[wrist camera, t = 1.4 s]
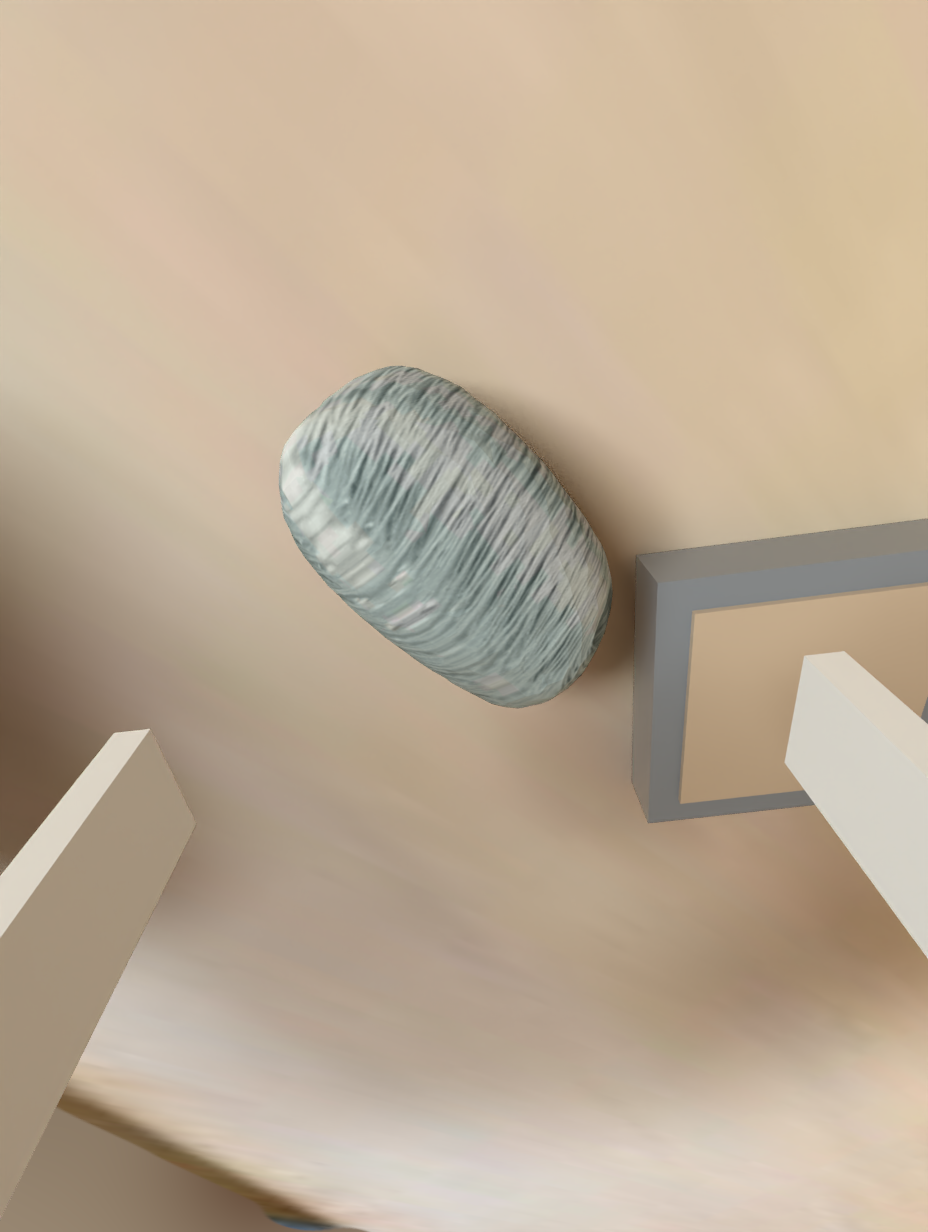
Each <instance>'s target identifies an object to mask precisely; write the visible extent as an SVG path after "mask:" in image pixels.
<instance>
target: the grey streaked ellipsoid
mask: <svg viewBox="0 0 928 1232" xmlns="http://www.w3.org/2000/svg"><path fill="white" fill-rule="evenodd" d="M279 489H280V497H281V504H282V510H283V515H284V519H285V521H286V523H287V525H288V527H289V529H290V531H291V533H292V536H293V538H294V540H295V542H296V545H297V546H298V548H299V549H300V551H301V552H302V554H303V555H304V557H305V558H306V559H307V561H308V562H309V563H310V564H311V565H312V567H313V568H314V569H315V570H316V572H317V573H318V574H319V575H320V576H321V578H322V579H323V580H324V581H325V582H326V584H327V585H328V586H329V587H330V588H331V589H332V590H333V591H334V592H336V593H337V594H338V595H339V596H340V597H341V598H342V599H343V600H344V601H345V602H346V604H347V605H348V606H350V607H351V608H352V609H353V610H354V611H355V612H356V613H357V614H358V615H360V616H361V617H362V618H363V619H364V620H365V621H367V622H368V623H369V624H370V625H372V626H373V627H374V628H375V629H376V630H377V631H379V632H380V633H381V634H382V635H383V636H384V637H386V638H387V639H388V640H390V641H391V642H392V643H394V644H395V645H397V646H398V647H399V648H401V649H402V650H404V651H405V652H406V653H408V654H409V655H410V656H412V657H413V658H414V659H416V660H417V661H419V662H420V663H421V664H423V665H424V666H426V667H428V668H429V669H431V670H432V671H434V672H436V673H438V674H439V675H441V676H443V677H445V678H446V679H448V680H449V681H450V682H451V683H453V684H455V685H457V686H459V687H461V688H462V689H464V690H466V691H468V692H470V693H472V694H474V695H476V696H478V697H480V698H482V699H484V700H485V701H487V702H489V703H491V704H495V705H499V706H503V707H510V708H523V707H528V706H532V705H537V704H541V703H544V702H546V701H549V700H551V699H552V698H554V697H555V696H557V695H558V694H560V693H561V692H563V691H564V690H566V689H567V688H568V687H569V686H570V685H571V684H572V683H573V682H574V681H575V680H576V679H577V678H578V677H579V676H581V674H582V673H583V672H584V670H585V669H586V667H587V666H588V664H589V662H590V660H591V659H592V657H593V655H594V653H595V652H596V650H597V648H598V646H599V644H600V641H601V639H602V637H603V635H604V633H605V629H606V625H607V621H608V617H609V613H610V609H611V601H612V580H611V574H610V570H609V566H608V562H607V558H606V554H605V552H604V549H603V547H602V545H601V542H600V541H599V539H598V538H597V536H596V535H595V533H594V532H593V530H592V528H591V527H590V525H589V523H588V521H587V520H586V518H585V517H584V515H583V514H582V512H581V511H580V510H579V508H578V507H577V506H576V504H575V503H574V501H573V500H572V499H571V498H570V496H569V495H568V494H567V493H566V491H565V490H564V489H563V487H562V486H561V485H560V483H559V482H558V480H557V479H556V478H555V476H554V475H553V473H552V472H551V471H550V470H549V468H548V467H547V466H546V465H545V464H544V462H543V461H542V460H541V459H540V458H539V457H538V456H537V455H536V454H535V453H534V452H533V451H532V450H531V449H530V448H529V447H528V446H527V445H526V444H525V443H524V442H523V441H522V440H521V439H520V438H519V437H518V436H517V435H516V434H515V433H514V432H513V431H512V430H511V429H510V428H509V427H507V426H506V425H505V424H504V423H503V422H502V421H501V420H500V418H499V417H498V416H497V415H496V414H495V413H494V412H492V411H491V410H490V409H488V408H487V407H486V406H484V405H483V404H481V403H480V402H479V401H477V400H476V399H475V398H473V397H472V396H471V395H470V394H469V393H468V392H466V391H465V390H464V389H463V388H462V387H460V386H458V385H456V384H454V383H452V382H450V381H448V380H446V379H443V378H441V377H438V376H435V375H433V374H430V373H428V372H425V371H423V370H420V369H418V368H412V367H405V366H389V367H386V368H382V369H378V370H375V371H373V372H370V373H367V374H365V375H362V376H360V377H358V378H355V379H353V380H352V381H350V382H349V383H347V384H346V385H345V386H343V387H342V388H341V389H340V390H338V391H337V392H335V393H334V394H333V395H331V396H330V397H328V398H327V399H326V400H325V401H324V402H323V403H322V404H321V406H320V407H319V408H318V409H316V410H315V411H314V412H312V413H311V414H310V415H309V416H308V417H307V418H306V419H305V420H304V421H303V422H302V423H301V424H300V425H299V426H298V428H297V429H296V430H295V431H294V432H293V434H292V435H291V437H290V438H289V439H288V441H287V442H286V444H285V445H284V449H283V452H282V455H281V460H280V471H279Z"/></svg>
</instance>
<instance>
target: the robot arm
mask: <svg viewBox="0 0 928 1232" xmlns="http://www.w3.org/2000/svg"><path fill="white" fill-rule="evenodd" d="M784 763H785V764H786V765H787V767H788V768H789V769H790V771H791V772H792V774H793V775H794V776H795V778H796V779H797V780H798V782H799V783H800V784H801V786H802V787H803V789H804V790H805V791H806V793H807V794H808V795H809V797H810V798H811V800H812V801H813V802H814V804H815V805H816V806H817V808H818V809H819V810H820V812H821V813H822V815H823V816H824V817H825V819H826V820H827V821H828V823H829V824H830V826H831V827H832V828H833V830H834V831H835V832H836V834H837V835H838V836H839V838H840V839H841V841H842V842H843V843H844V845H845V846H846V847H847V849H848V850H849V852H850V853H851V854H852V856H853V857H854V858H855V860H856V861H857V862H858V864H859V865H860V867H861V868H862V869H863V871H864V872H865V873H866V875H867V876H868V878H869V879H870V880H871V882H872V883H873V884H874V886H875V887H876V888H877V890H878V891H879V893H880V894H881V895H882V897H883V898H884V899H885V901H886V902H887V904H888V905H889V906H890V908H891V909H892V910H893V912H894V913H895V914H896V916H897V917H898V919H899V920H900V921H901V923H902V924H903V925H904V927H905V928H906V930H907V931H908V932H909V934H910V935H911V936H912V938H913V939H914V940H915V942H916V943H917V945H918V946H919V947H920V949H921V950H922V951H923V953H924V954H925V956H926V957H927V958H928V724H927V723H926V722H925V721H924V720H922V719H921V718H920V717H919V716H918V715H917V714H916V713H914V712H913V711H912V710H911V709H910V708H909V707H908V706H906V705H905V704H904V703H903V702H902V701H901V700H900V699H898V698H897V697H896V696H895V695H894V694H893V693H892V692H890V691H889V690H888V689H887V688H886V687H885V686H884V685H882V684H881V683H880V682H879V681H878V680H877V679H876V678H874V677H873V676H872V675H871V674H870V673H869V672H868V671H866V670H865V669H864V668H863V667H862V666H861V665H860V664H858V663H857V662H856V661H855V660H854V659H853V658H852V657H850V656H849V655H848V654H847V653H846V652H845V651H841V652H832V653H824V654H815V655H806V656H804V659H803V665H802V670H801V676H800V681H799V686H798V692H797V697H796V703H795V708H794V714H793V719H792V724H791V730H790V735H789V741H788V746H787V751H786V757H785V762H784ZM195 826H196V822H195V820H194V818H193V815H192V813H191V811H190V809H189V807H188V805H187V803H186V801H185V799H184V797H183V795H182V793H181V791H180V789H179V787H178V785H177V783H176V780H175V778H174V776H173V774H172V772H171V770H170V768H169V766H168V764H167V762H166V760H165V758H164V756H163V754H162V752H161V750H160V747H159V745H158V743H157V741H156V739H155V737H154V735H153V733H152V731H151V729H144V730H135V731H126V732H117V733H114V734H113V735H112V736H111V737H110V739H109V740H108V741H107V743H106V744H105V745H104V746H103V748H102V749H101V750H100V751H99V753H98V754H97V755H96V756H95V758H94V759H93V760H92V761H91V763H90V764H89V765H88V766H87V768H86V769H85V770H84V771H83V773H82V774H81V775H80V776H79V778H78V779H77V780H76V781H75V783H74V784H73V785H72V786H71V788H70V789H69V790H68V791H67V793H66V794H65V795H64V796H63V798H62V799H61V800H60V802H59V803H58V804H57V805H56V807H55V808H54V809H53V810H52V812H51V813H50V814H49V815H48V817H47V818H46V819H45V820H44V822H43V823H42V824H41V825H40V827H39V828H38V829H37V830H36V832H35V833H34V834H33V835H32V837H31V838H30V839H29V840H28V842H27V843H26V844H25V845H24V847H23V848H22V849H21V850H20V852H19V853H18V854H17V855H16V857H15V858H14V859H13V861H12V862H11V863H10V864H9V866H8V867H7V868H6V869H5V871H4V872H3V873H2V874H1V876H0V1219H1V1217H2V1215H3V1213H4V1211H5V1209H6V1207H7V1205H8V1203H9V1201H10V1199H11V1197H12V1194H13V1193H14V1191H15V1189H16V1187H17V1184H18V1183H19V1180H20V1178H21V1177H22V1174H23V1172H24V1170H25V1168H26V1166H27V1164H28V1162H29V1160H30V1158H31V1156H32V1154H33V1152H34V1150H35V1148H36V1146H37V1144H38V1142H39V1140H40V1138H41V1136H42V1134H43V1132H44V1130H45V1128H46V1126H47V1124H48V1122H49V1120H50V1118H51V1116H52V1114H53V1112H54V1110H55V1108H56V1106H57V1104H58V1102H59V1100H60V1098H61V1096H62V1094H63V1092H64V1090H65V1088H66V1086H67V1084H68V1082H69V1080H70V1078H71V1076H72V1074H73V1072H74V1070H75V1068H76V1066H77V1064H78V1062H79V1060H80V1058H81V1056H82V1054H83V1052H84V1050H85V1048H86V1046H87V1044H88V1042H89V1040H90V1037H91V1035H92V1033H93V1031H94V1029H95V1027H96V1025H97V1023H98V1021H99V1019H100V1017H101V1015H102V1013H103V1011H104V1009H105V1007H106V1005H107V1003H108V1001H109V999H110V997H111V995H112V993H113V991H114V989H115V987H116V985H117V983H118V981H119V979H120V977H121V975H122V973H123V971H124V969H125V967H126V965H127V963H128V961H129V959H130V957H131V955H132V953H133V951H134V949H135V947H136V945H137V943H138V941H139V939H140V937H141V935H142V933H143V931H144V929H145V927H146V925H147V923H148V921H149V919H150V917H151V915H152V913H153V911H154V909H155V907H156V905H157V902H158V900H159V898H160V896H161V894H162V892H163V890H164V888H165V886H166V884H167V882H168V880H169V878H170V876H171V874H172V872H173V870H174V868H175V866H176V864H177V862H178V860H179V858H180V856H181V854H182V852H183V850H184V848H185V846H186V844H187V842H188V840H189V838H190V836H191V834H192V832H193V830H194V828H195Z"/></svg>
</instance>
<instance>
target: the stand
mask: <svg viewBox="0 0 928 1232" xmlns="http://www.w3.org/2000/svg"><path fill="white" fill-rule="evenodd" d="M841 651H845V652H846V653H847V654H848V655H849V656H850V657H852V658H853V659H854V660H855V661H856V662H857V663H858V664H860V665H861V666H862V667H863V668H864V669H865V670H866V671H868V672H869V673H870V674H871V675H872V676H873V677H874V678H876V679H877V680H878V681H879V682H880V683H881V684H882V685H884V686H885V687H886V688H887V689H888V690H889V691H890V692H892V693H893V694H894V695H895V696H896V697H897V698H898V699H900V700H901V701H902V702H903V703H904V704H905V705H906V706H908V707H909V708H910V709H911V710H912V711H913V712H914V713H916V714H917V715H918V716H919V717H920V718H921V719H922V720H924V721H925V722H926V723H927V724H928V519H922V520H914V521H906V522H898V523H890V524H882V525H874V526H866V527H858V528H850V529H842V530H834V531H826V532H818V533H810V534H802V535H794V536H786V537H778V538H770V539H762V540H754V541H746V542H738V543H730V544H722V545H714V546H706V547H698V548H690V549H682V550H674V551H667V552H659V553H651V554H643V555H636V591H635V640H634V689H633V739H632V784H633V787H634V789H635V792H636V794H637V797H638V799H639V802H640V804H641V807H642V809H643V812H644V814H645V817H646V819H647V822H648V823H655V822H664V821H674V820H683V819H692V818H701V817H710V816H719V815H728V814H737V813H746V812H755V811H764V810H773V809H782V808H791V807H800V806H809V805H815V804H814V802H813V801H812V800H811V798H810V797H809V795H808V794H807V793H806V791H805V790H804V789H803V787H802V786H801V784H800V783H799V782H798V780H797V779H796V778H795V776H794V775H793V774H792V772H791V771H790V769H789V768H788V767H787V765H786V764H785V763H784V762H785V757H786V751H787V746H788V741H789V735H790V730H791V724H792V719H793V714H794V708H795V703H796V697H797V692H798V686H799V681H800V676H801V670H802V665H803V659H804V656H806V655H815V654H824V653H832V652H841Z"/></svg>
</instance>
